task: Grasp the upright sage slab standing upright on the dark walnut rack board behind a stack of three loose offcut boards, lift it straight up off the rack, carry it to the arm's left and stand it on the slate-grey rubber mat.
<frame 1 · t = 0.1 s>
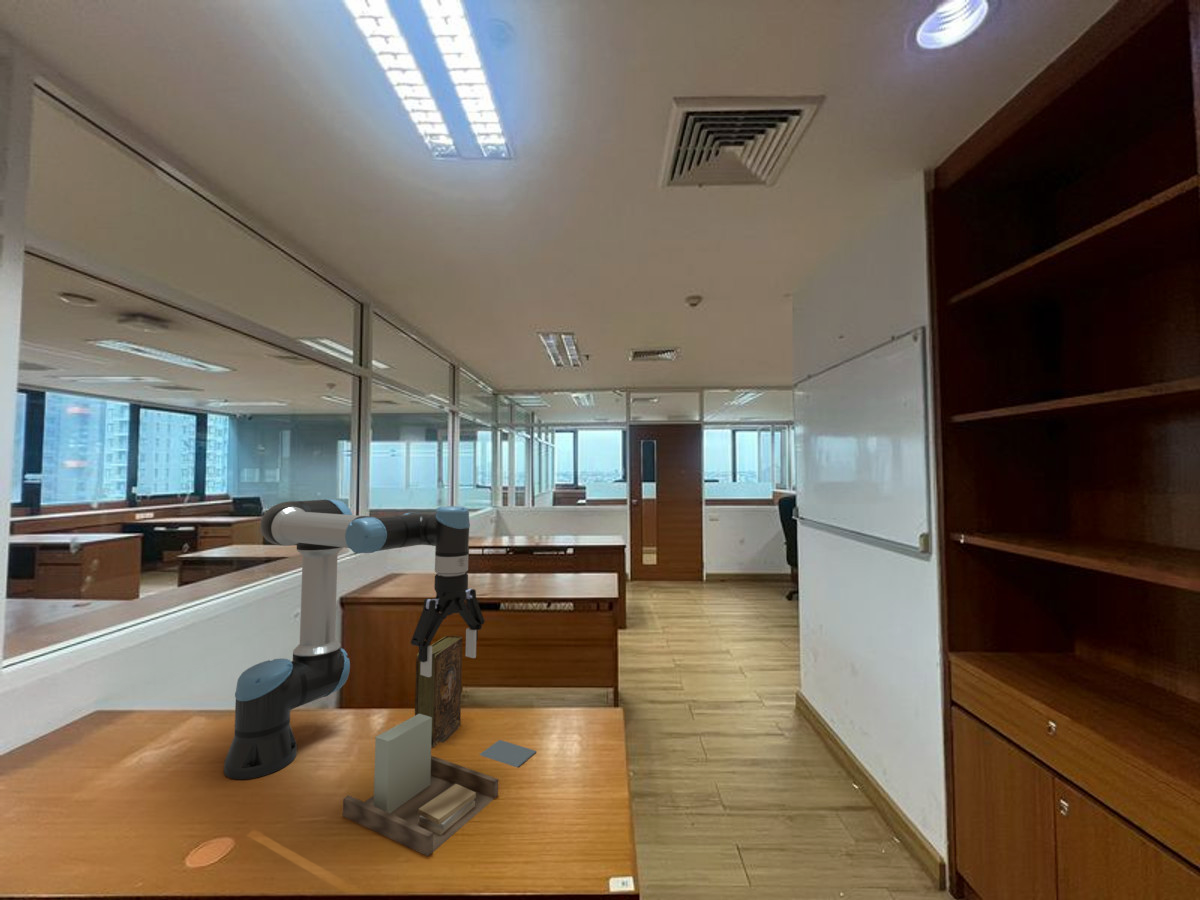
hand: (449, 665, 118), 28 cm above the table, fingers open, 13 cm apart
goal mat: (495, 763, 128), on the table
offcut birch: (447, 815, 106), point 1 cm above the table, touching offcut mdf, rack
upright sage slab: (402, 796, 112), point 1 cm above the table, touching rack
rack: (422, 812, 109), on the table
offcut oak: (447, 805, 106), point 3 cm above the table, touching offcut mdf
book: (439, 737, 140), on the table
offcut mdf: (447, 810, 106), point 2 cm above the table, touching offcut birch, offcut oak
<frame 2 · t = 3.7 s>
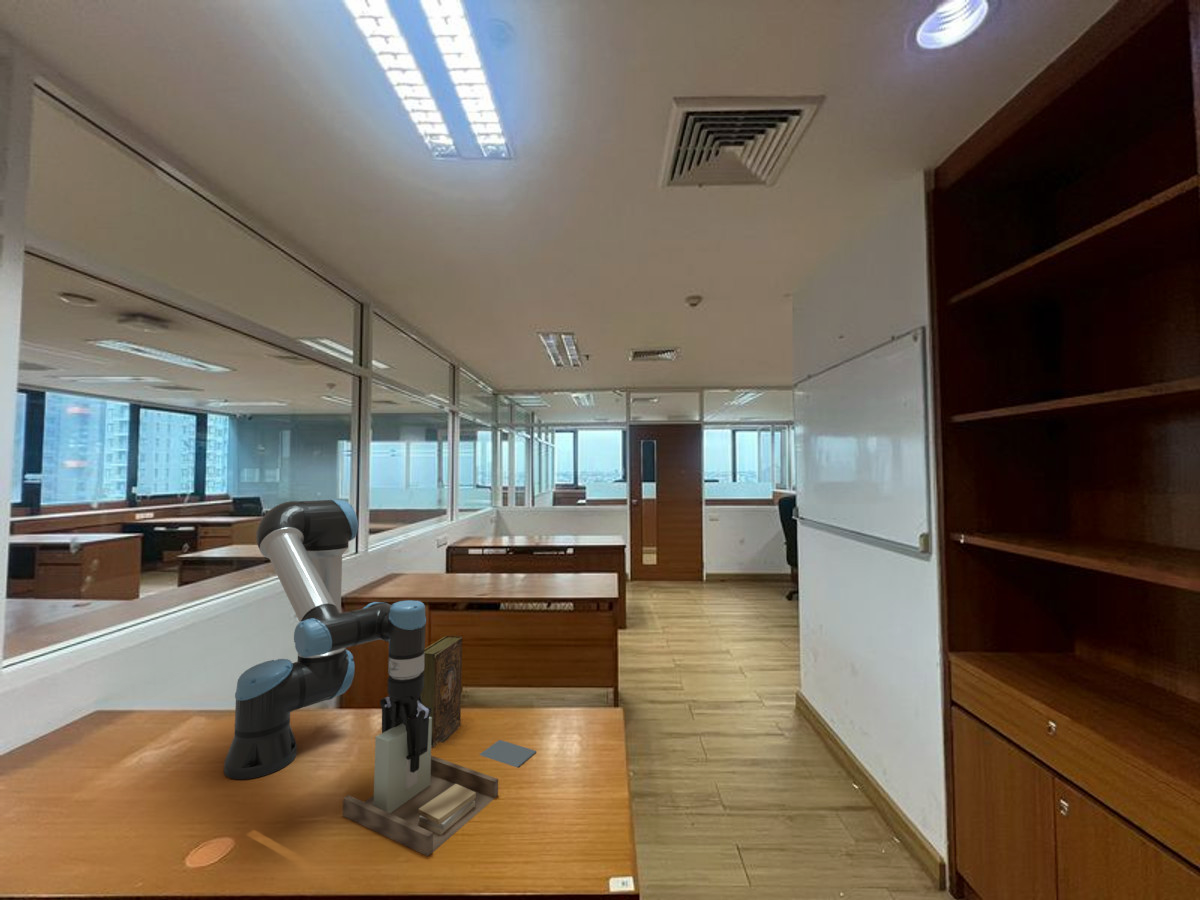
hand: (403, 782, 112), 5 cm above the table, fingers closed on upright sage slab, 4 cm apart
upright sage slab: (402, 796, 112), point 1 cm above the table, touching gripper, rack
everything else where it was.
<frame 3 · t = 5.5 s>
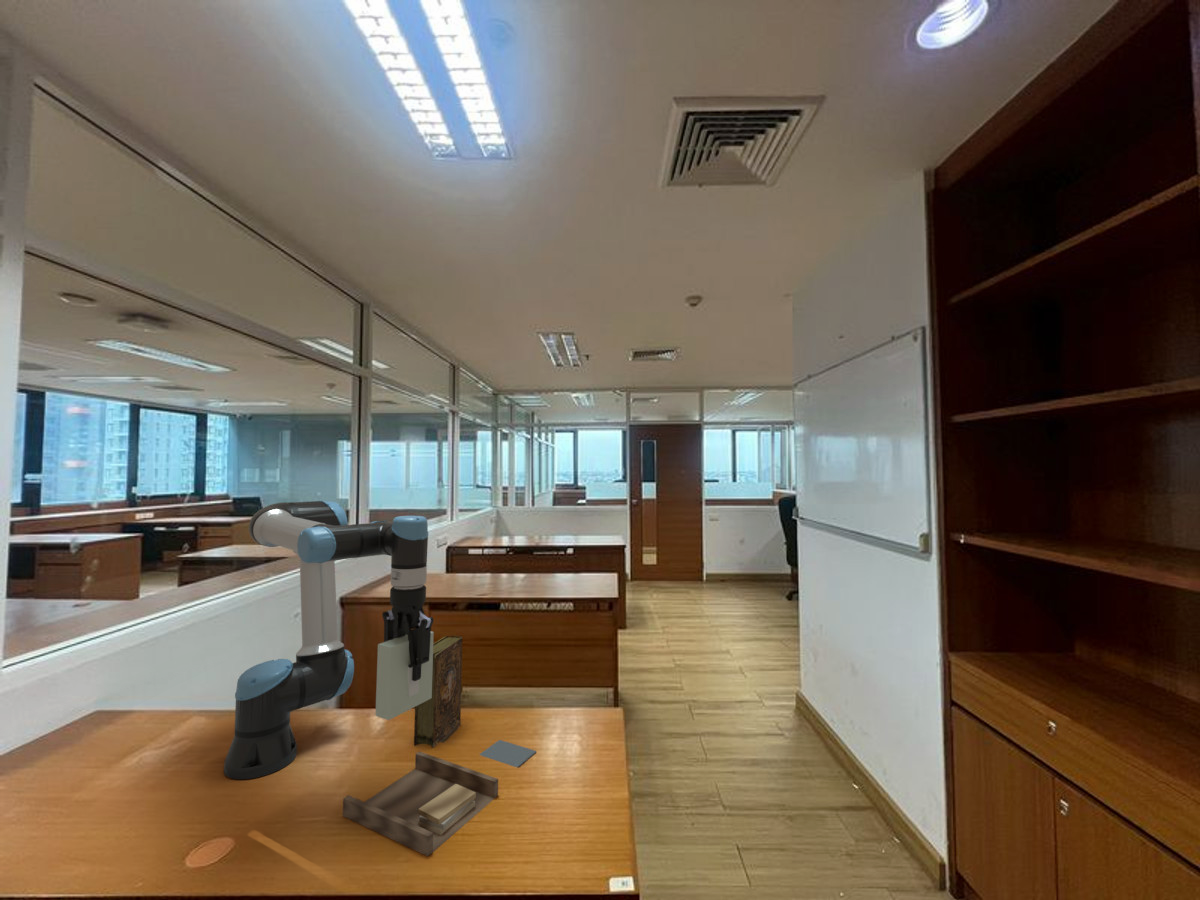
hand: (405, 692, 113), 24 cm above the table, fingers closed on upright sage slab, 4 cm apart
upright sage slab: (404, 706, 113), point 21 cm above the table, touching gripper
everything else where it was.
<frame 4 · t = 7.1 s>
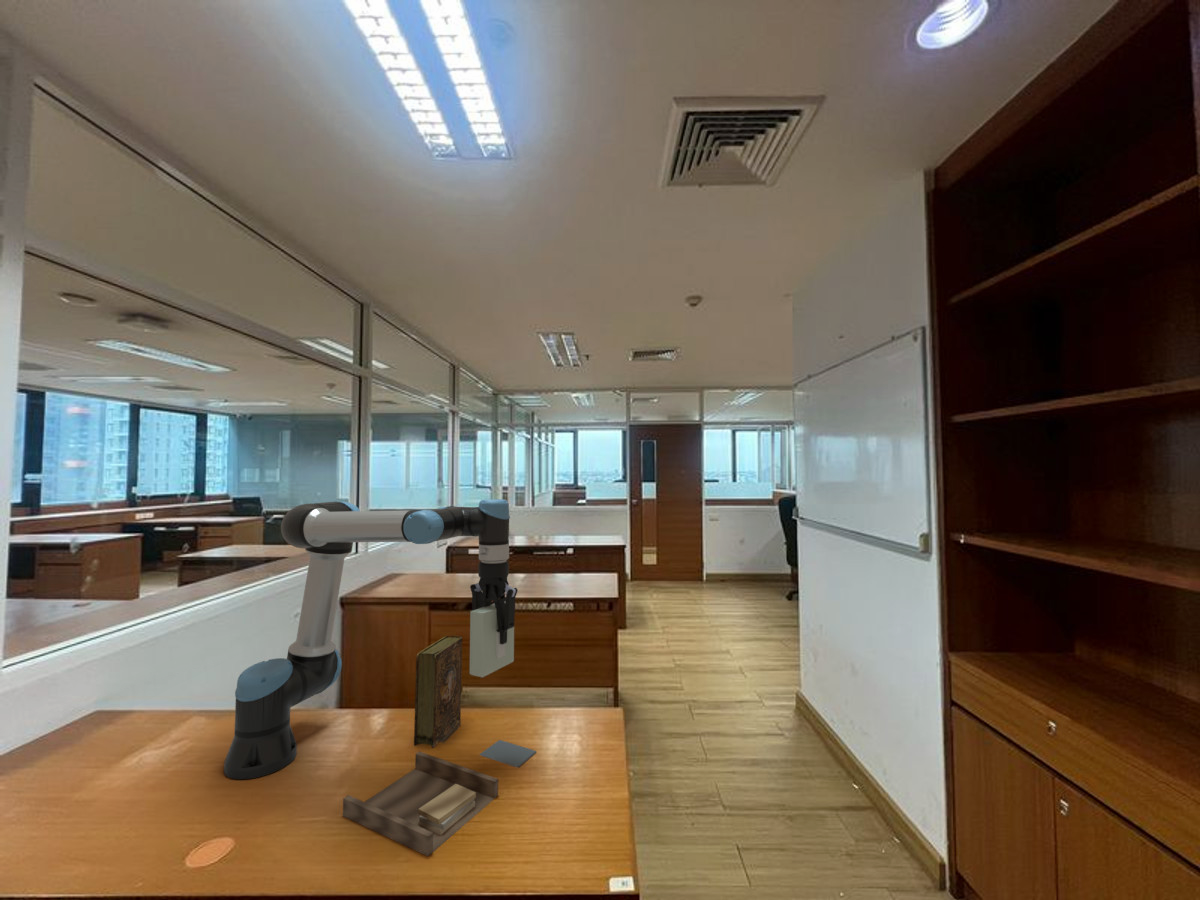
hand: (492, 654, 128), 27 cm above the table, fingers closed on upright sage slab, 4 cm apart
upright sage slab: (492, 667, 127), point 24 cm above the table, touching gripper
everything else where it was.
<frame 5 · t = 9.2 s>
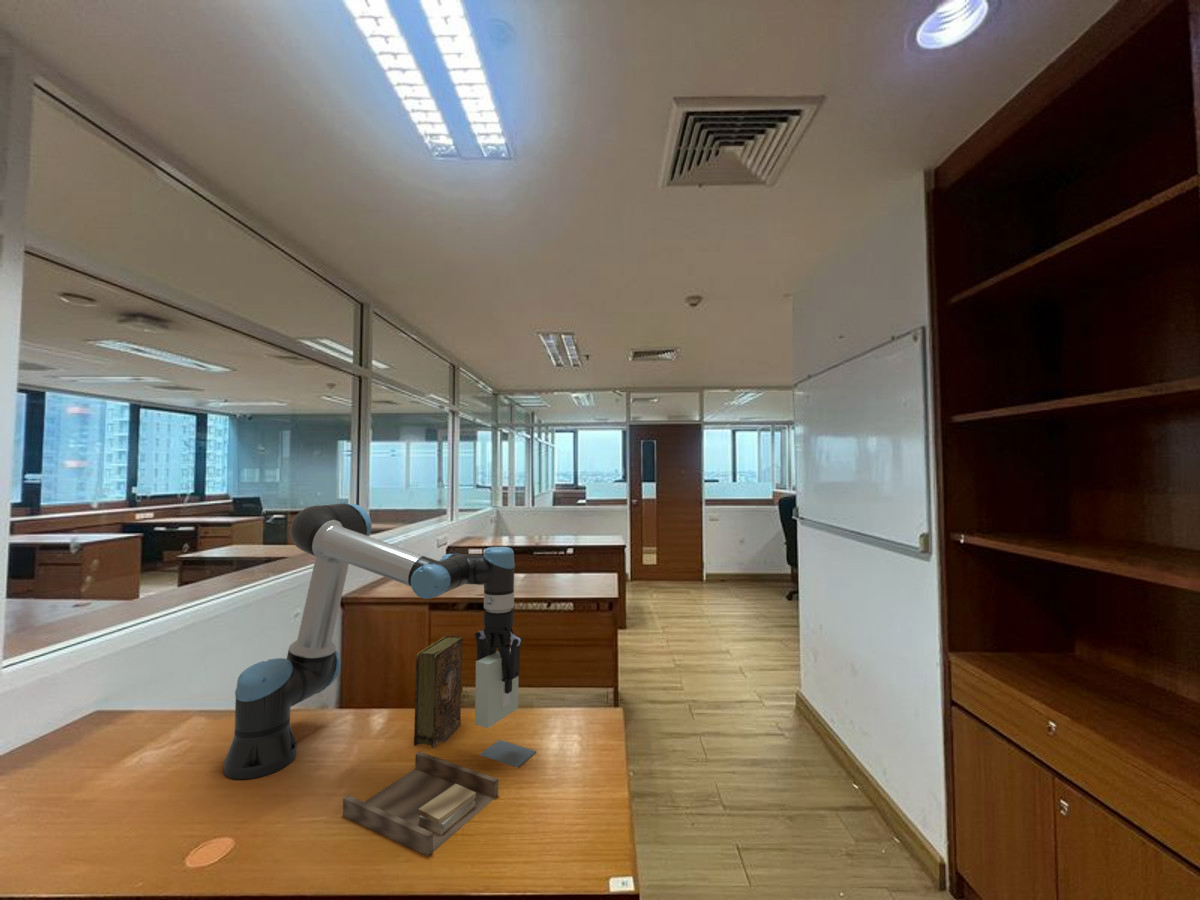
hand: (497, 703, 128), 15 cm above the table, fingers closed on upright sage slab, 4 cm apart
upright sage slab: (497, 716, 128), point 12 cm above the table, touching gripper
everything else where it was.
when the fingers open (5 cm above the table, at t = 11.0 s): upright sage slab drops 1 cm, resting on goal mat.
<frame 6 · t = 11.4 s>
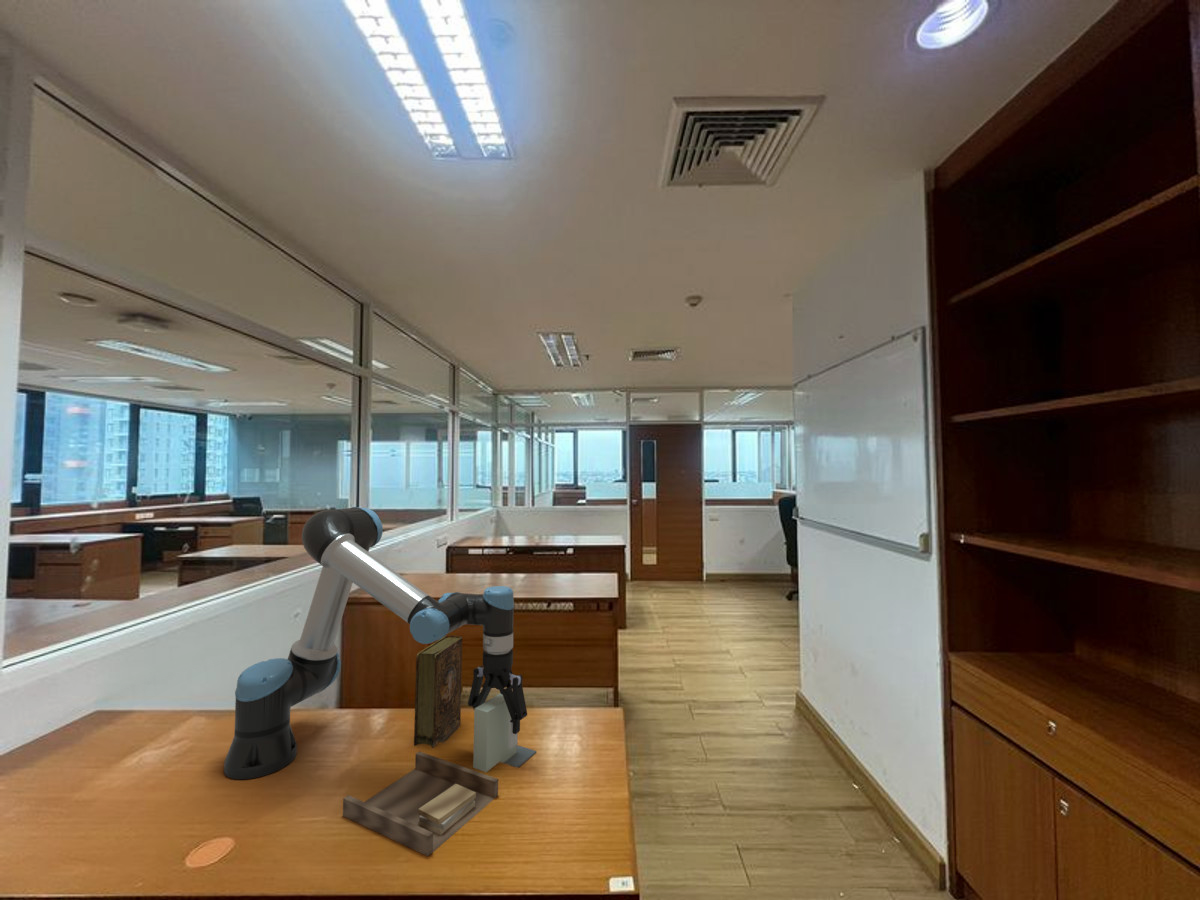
hand: (496, 740, 128), 6 cm above the table, fingers open, 9 cm apart
upright sage slab: (495, 762, 128), resting on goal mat
everything else where it was.
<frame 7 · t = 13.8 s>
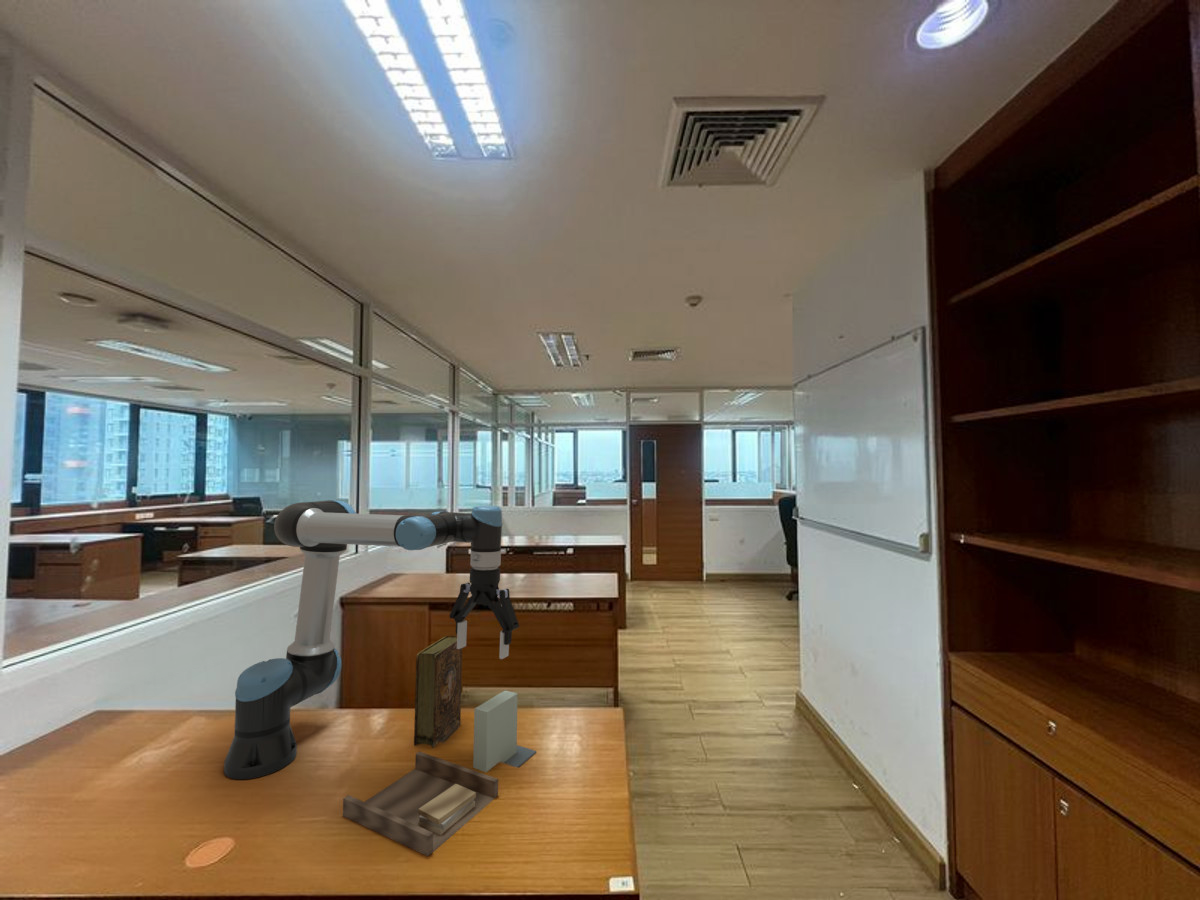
hand: (482, 652, 128), 27 cm above the table, fingers open, 13 cm apart
nothing on the table moved.
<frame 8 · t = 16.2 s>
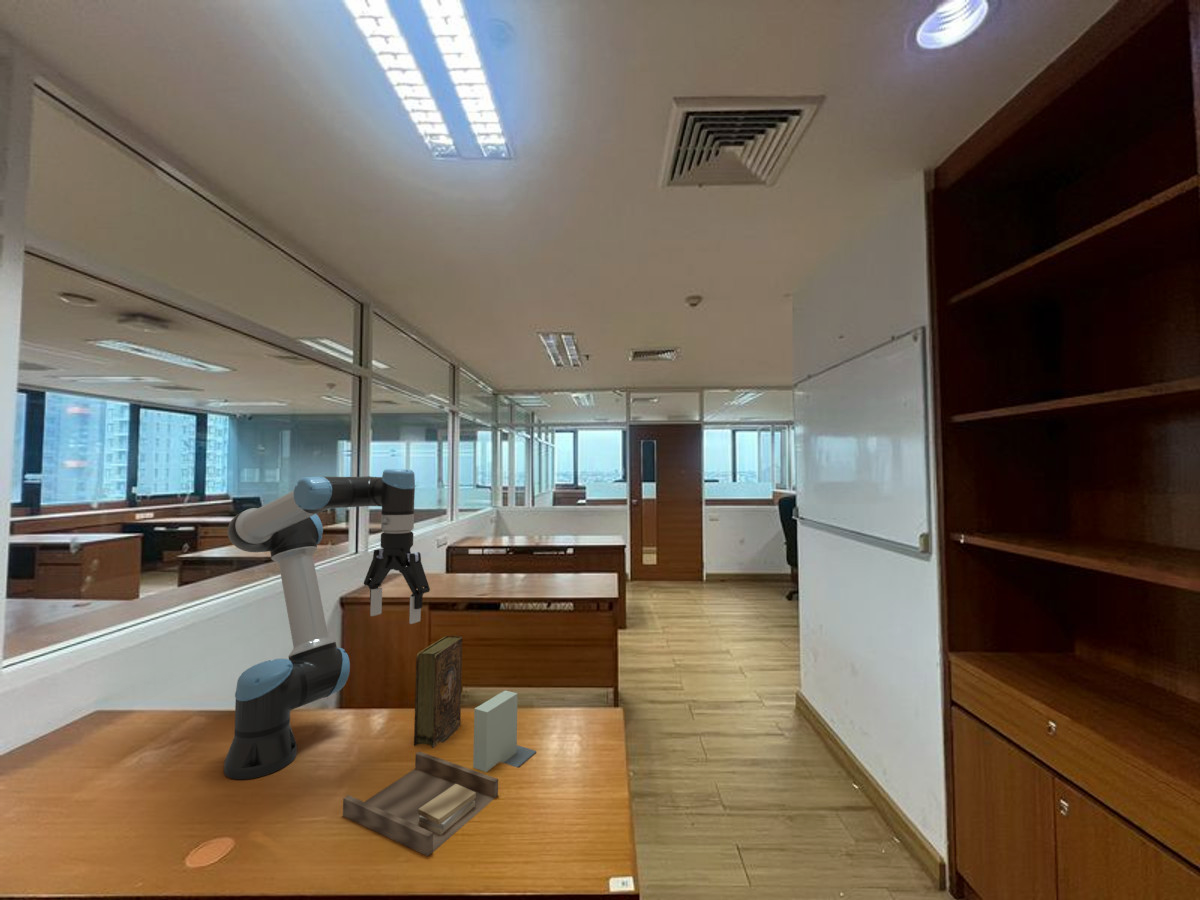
hand: (394, 618, 125), 37 cm above the table, fingers open, 13 cm apart
nothing on the table moved.
at the end: upright sage slab inside the target area on the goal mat (0.1 cm from its centre), point 0.4 cm above the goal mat's base; upright sage slab moved 23.4 cm from its start; the gripper is holding nothing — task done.
